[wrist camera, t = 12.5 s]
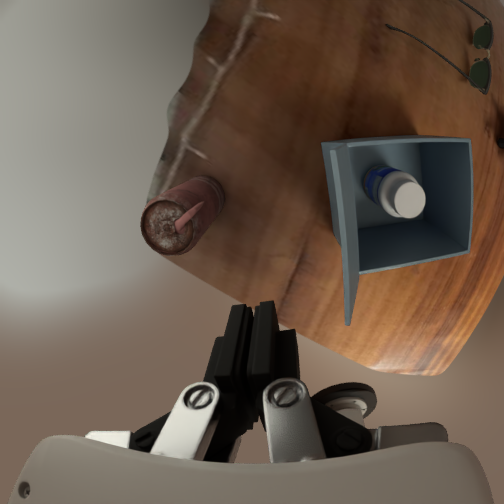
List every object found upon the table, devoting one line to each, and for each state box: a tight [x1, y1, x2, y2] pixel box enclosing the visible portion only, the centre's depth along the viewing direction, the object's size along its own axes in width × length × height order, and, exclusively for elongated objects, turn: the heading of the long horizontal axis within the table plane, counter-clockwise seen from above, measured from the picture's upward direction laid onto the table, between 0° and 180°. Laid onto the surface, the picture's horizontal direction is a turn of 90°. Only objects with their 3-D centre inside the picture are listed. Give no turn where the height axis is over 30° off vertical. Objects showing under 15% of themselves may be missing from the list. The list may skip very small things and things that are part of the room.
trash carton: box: [321, 135, 473, 275], centre depth 28 cm, size 15×13×12 cm
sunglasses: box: [386, 0, 493, 94], centre depth 20 cm, size 16×17×5 cm
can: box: [140, 176, 225, 256], centre depth 30 cm, size 6×6×14 cm
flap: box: [330, 144, 359, 326], centre depth 20 cm, size 7×13×1 cm
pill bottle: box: [363, 165, 425, 218], centre depth 29 cm, size 5×5×10 cm
